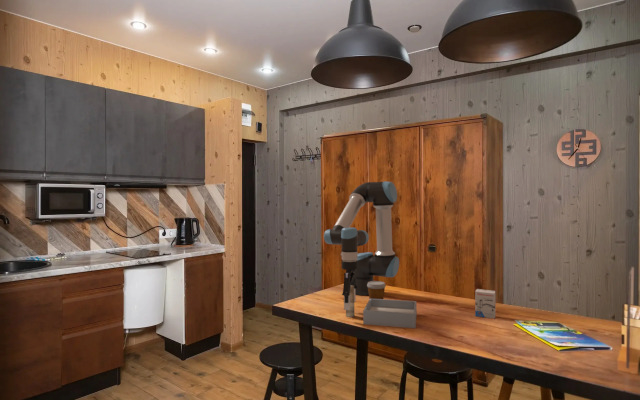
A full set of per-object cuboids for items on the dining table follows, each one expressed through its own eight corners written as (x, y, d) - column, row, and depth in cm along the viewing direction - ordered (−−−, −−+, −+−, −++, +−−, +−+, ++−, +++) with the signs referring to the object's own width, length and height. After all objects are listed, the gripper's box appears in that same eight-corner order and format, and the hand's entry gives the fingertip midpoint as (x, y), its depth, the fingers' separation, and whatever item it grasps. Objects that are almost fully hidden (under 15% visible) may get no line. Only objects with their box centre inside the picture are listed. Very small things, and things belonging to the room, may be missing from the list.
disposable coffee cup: (385, 303, 199) (384, 280, 199) (386, 309, 189) (386, 285, 189) (366, 303, 199) (366, 280, 199) (367, 308, 190) (367, 284, 190)
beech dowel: (346, 314, 181) (346, 285, 181) (355, 314, 180) (354, 285, 180) (345, 316, 177) (344, 287, 177) (353, 317, 176) (353, 287, 176)
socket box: (370, 310, 186) (369, 298, 186) (416, 313, 180) (416, 301, 180) (363, 324, 167) (363, 310, 167) (415, 328, 161) (415, 314, 161)
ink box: (474, 316, 176) (474, 291, 176) (476, 313, 180) (475, 288, 180) (495, 318, 172) (495, 293, 172) (495, 315, 176) (495, 290, 176)
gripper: (346, 256, 192) (347, 298, 192) (335, 264, 168) (336, 312, 167) (361, 257, 190) (362, 299, 189) (352, 265, 166) (352, 313, 165)
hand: (349, 305), depth 178 cm, fingers open, 13 cm apart
